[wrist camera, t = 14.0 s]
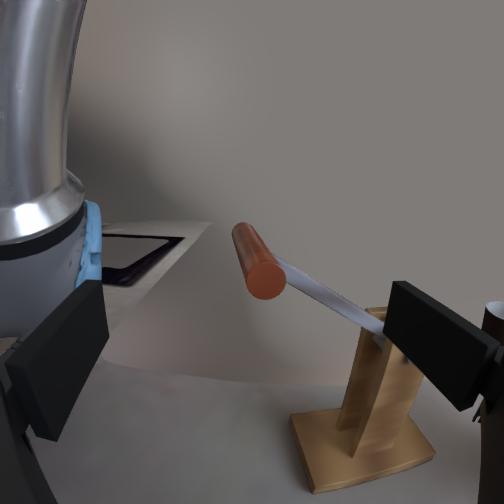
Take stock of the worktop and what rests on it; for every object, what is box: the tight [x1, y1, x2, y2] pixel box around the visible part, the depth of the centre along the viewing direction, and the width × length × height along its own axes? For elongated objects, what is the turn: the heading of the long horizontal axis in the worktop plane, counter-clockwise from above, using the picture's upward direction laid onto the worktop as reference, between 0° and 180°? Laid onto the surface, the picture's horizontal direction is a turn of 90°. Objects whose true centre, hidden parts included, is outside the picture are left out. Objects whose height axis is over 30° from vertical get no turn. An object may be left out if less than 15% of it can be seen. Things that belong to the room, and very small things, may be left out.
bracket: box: [289, 307, 436, 494], centre depth 24 cm, size 13×10×15 cm
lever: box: [232, 222, 387, 350], centre depth 21 cm, size 16×11×2 cm
